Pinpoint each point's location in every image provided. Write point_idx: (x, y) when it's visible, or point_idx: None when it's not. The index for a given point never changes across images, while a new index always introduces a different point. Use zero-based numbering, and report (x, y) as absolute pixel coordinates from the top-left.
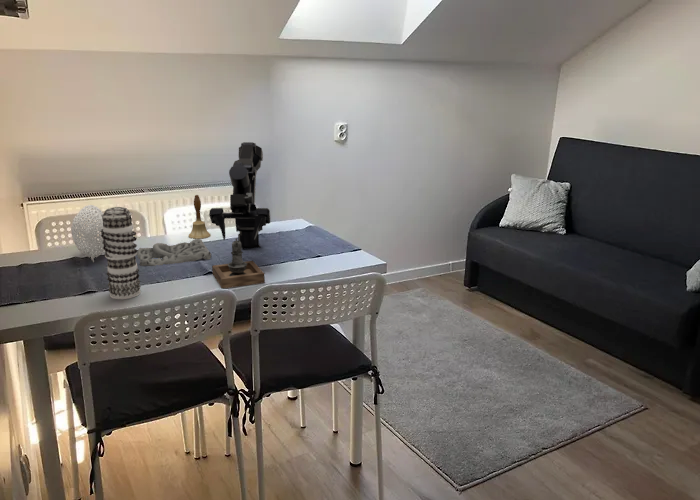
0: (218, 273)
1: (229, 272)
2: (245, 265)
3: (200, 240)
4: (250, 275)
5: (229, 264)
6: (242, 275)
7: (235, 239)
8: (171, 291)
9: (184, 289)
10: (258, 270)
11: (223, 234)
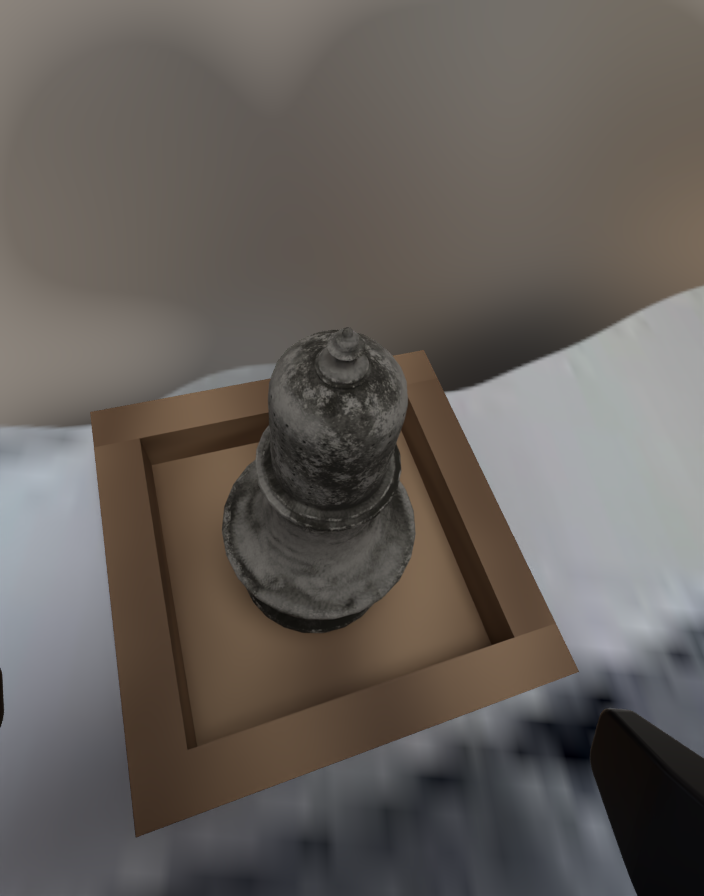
0: (468, 456)
1: (394, 640)
2: (241, 477)
3: None
4: (212, 390)
5: (398, 509)
6: None
7: (361, 340)
8: (691, 394)
9: (632, 412)
10: (127, 487)
11: (685, 761)
